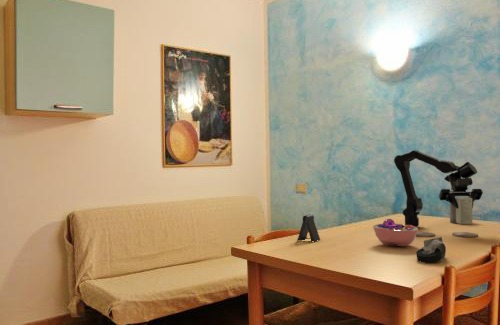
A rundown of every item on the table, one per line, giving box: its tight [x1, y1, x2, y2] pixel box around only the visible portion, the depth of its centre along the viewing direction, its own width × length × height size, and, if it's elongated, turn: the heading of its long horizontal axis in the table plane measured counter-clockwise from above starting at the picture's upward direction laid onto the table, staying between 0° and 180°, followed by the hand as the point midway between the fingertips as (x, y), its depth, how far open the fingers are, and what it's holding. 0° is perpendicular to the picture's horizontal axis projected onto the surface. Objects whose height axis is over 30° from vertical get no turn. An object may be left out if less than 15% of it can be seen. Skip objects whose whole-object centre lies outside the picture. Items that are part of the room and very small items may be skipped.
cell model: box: [372, 218, 419, 247], centre depth 186 cm, size 17×20×11 cm
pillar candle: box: [449, 197, 458, 224], centre depth 243 cm, size 10×10×15 cm
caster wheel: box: [415, 236, 447, 264], centre depth 159 cm, size 7×12×10 cm
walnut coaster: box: [452, 231, 479, 239], centre depth 205 cm, size 11×11×1 cm
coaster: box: [416, 231, 436, 238], centre depth 209 cm, size 11×11×1 cm
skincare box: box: [455, 196, 473, 225], centre depth 205 cm, size 6×4×12 cm
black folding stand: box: [297, 213, 321, 242], centre depth 202 cm, size 9×6×12 cm, turn 55°
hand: (465, 208), depth 204 cm, fingers closed on skincare box, 6 cm apart
